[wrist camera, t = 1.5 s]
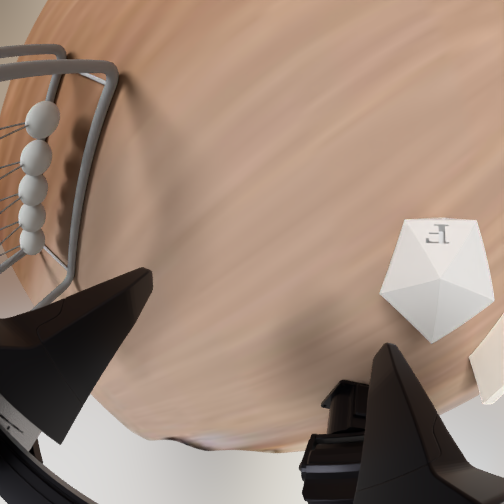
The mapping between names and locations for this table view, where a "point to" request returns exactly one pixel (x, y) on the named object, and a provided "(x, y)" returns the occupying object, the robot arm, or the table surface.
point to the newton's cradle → (40, 154)
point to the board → (490, 364)
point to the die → (438, 275)
